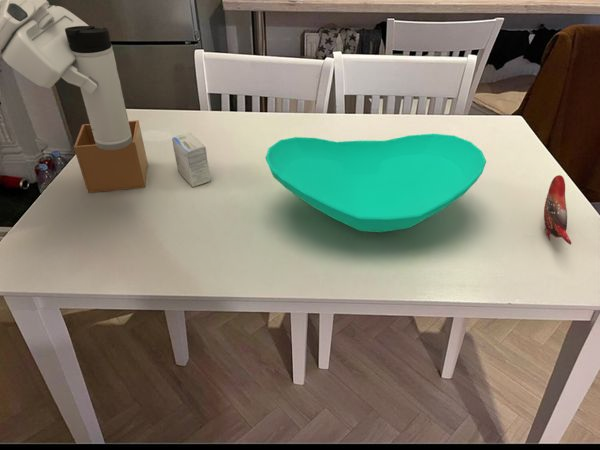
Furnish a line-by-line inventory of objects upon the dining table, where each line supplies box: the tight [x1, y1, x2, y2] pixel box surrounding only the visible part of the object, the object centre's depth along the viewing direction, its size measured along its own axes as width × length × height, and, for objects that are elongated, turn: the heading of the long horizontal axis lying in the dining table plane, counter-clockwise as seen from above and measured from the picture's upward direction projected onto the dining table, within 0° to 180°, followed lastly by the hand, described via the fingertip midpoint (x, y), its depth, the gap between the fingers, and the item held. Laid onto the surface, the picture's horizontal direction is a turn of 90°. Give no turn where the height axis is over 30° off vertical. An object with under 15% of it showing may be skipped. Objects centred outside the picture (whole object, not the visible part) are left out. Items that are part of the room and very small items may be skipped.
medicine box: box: [171, 132, 211, 188], centre depth 99 cm, size 8×4×9 cm, turn 34°
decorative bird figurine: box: [543, 174, 572, 245], centre depth 82 cm, size 3×18×10 cm, turn 166°
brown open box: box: [73, 119, 149, 194], centre depth 98 cm, size 12×10×11 cm
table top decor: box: [265, 133, 487, 233], centre depth 87 cm, size 40×28×13 cm
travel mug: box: [65, 25, 132, 150], centre depth 77 cm, size 6×7×20 cm
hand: (102, 80), depth 76 cm, fingers closed on travel mug, 6 cm apart
